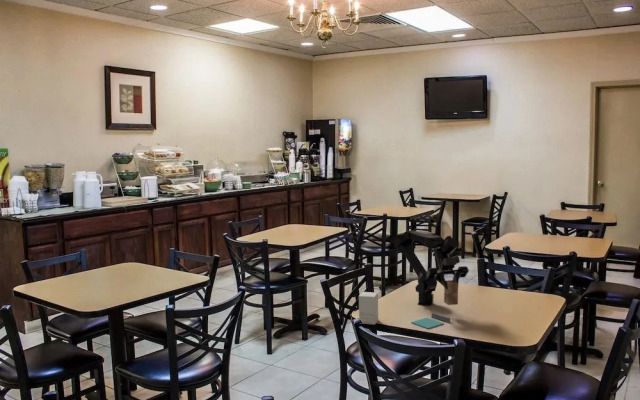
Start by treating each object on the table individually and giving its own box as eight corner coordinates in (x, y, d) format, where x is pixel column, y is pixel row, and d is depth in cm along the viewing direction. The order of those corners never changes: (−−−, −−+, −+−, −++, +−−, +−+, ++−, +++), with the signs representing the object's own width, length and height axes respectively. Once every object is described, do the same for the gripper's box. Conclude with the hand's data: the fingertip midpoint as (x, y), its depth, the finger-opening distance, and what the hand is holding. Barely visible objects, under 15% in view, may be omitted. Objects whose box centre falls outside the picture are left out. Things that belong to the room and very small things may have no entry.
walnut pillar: (448, 305, 242) (448, 283, 241) (444, 302, 247) (444, 280, 246) (457, 304, 243) (458, 282, 242) (453, 301, 248) (454, 280, 247)
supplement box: (378, 319, 243) (378, 292, 242) (374, 325, 236) (374, 296, 235) (362, 318, 245) (362, 291, 244) (358, 323, 238) (358, 295, 237)
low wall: (431, 317, 245) (431, 312, 245) (433, 316, 246) (433, 312, 246) (448, 322, 237) (448, 318, 237) (450, 322, 238) (450, 317, 238)
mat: (411, 323, 238) (411, 322, 238) (426, 318, 244) (426, 317, 244) (428, 329, 230) (428, 328, 230) (443, 324, 236) (443, 323, 235)
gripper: (428, 250, 245) (437, 280, 235) (467, 249, 248) (477, 278, 238) (422, 264, 254) (430, 293, 244) (460, 262, 256) (469, 291, 247)
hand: (452, 288), depth 243 cm, fingers closed on walnut pillar, 5 cm apart
